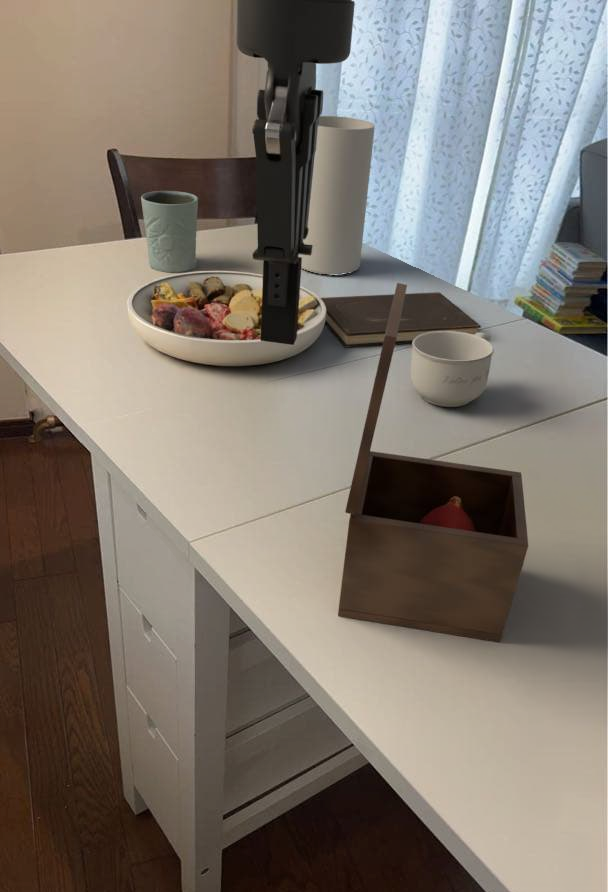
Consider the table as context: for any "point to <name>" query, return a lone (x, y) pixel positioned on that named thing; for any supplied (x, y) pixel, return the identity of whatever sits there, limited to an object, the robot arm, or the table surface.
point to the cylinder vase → (338, 195)
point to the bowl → (217, 318)
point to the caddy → (434, 547)
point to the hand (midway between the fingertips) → (278, 339)
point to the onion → (449, 516)
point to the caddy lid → (376, 397)
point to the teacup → (450, 366)
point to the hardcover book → (369, 315)
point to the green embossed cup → (170, 229)
